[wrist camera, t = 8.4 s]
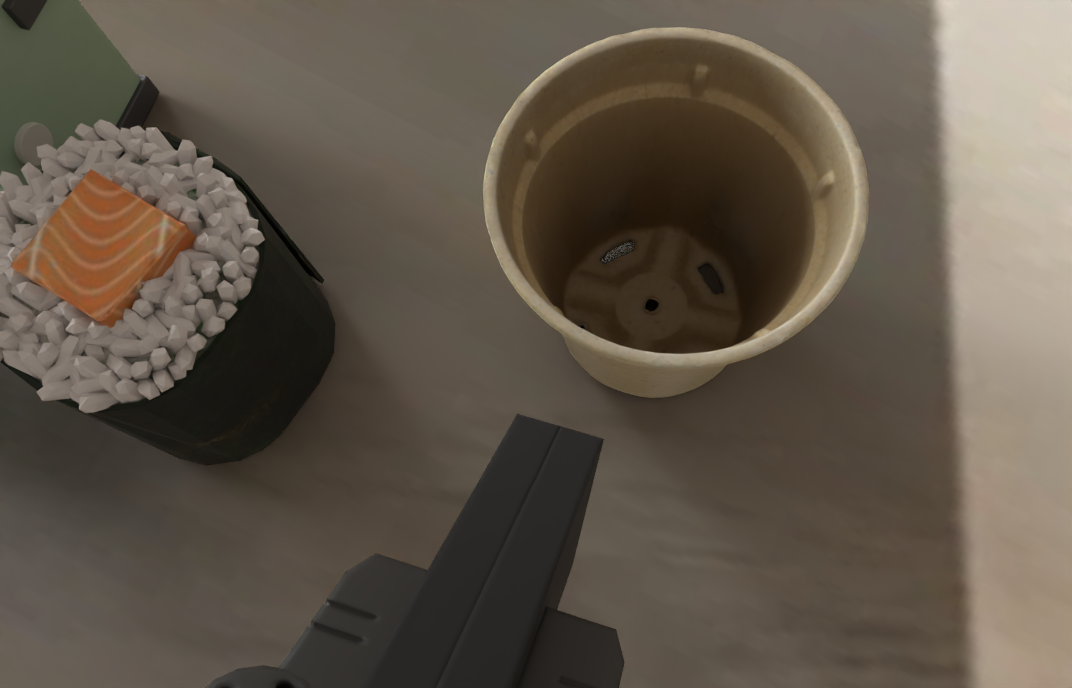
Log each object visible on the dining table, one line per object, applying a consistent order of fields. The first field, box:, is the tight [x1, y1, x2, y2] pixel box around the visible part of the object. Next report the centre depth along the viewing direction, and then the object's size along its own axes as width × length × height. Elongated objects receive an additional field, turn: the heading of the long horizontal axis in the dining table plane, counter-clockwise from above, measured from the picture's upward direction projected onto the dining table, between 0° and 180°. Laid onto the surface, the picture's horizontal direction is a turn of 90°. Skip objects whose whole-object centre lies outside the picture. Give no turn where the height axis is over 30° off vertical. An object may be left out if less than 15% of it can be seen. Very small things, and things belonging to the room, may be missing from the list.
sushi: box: [0, 119, 335, 465], centre depth 26 cm, size 8×8×8 cm
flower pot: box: [483, 27, 869, 398], centre depth 25 cm, size 9×9×9 cm
